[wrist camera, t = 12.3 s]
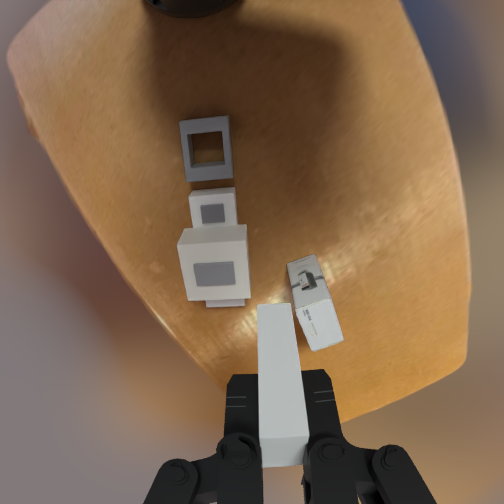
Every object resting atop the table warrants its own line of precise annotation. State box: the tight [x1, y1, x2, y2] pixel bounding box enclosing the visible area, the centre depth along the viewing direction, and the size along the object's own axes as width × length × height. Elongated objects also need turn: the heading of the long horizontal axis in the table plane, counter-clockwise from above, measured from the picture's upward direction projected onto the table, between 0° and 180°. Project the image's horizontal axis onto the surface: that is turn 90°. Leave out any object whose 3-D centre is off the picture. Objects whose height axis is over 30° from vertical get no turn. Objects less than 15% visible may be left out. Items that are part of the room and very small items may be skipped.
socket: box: [189, 187, 245, 307], centre depth 45 cm, size 18×6×4 cm, turn 4°
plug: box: [177, 224, 251, 301], centre depth 42 cm, size 8×8×8 cm
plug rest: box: [179, 115, 234, 182], centre depth 38 cm, size 8×6×3 cm
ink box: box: [287, 254, 344, 351], centre depth 44 cm, size 9×5×12 cm, turn 22°
